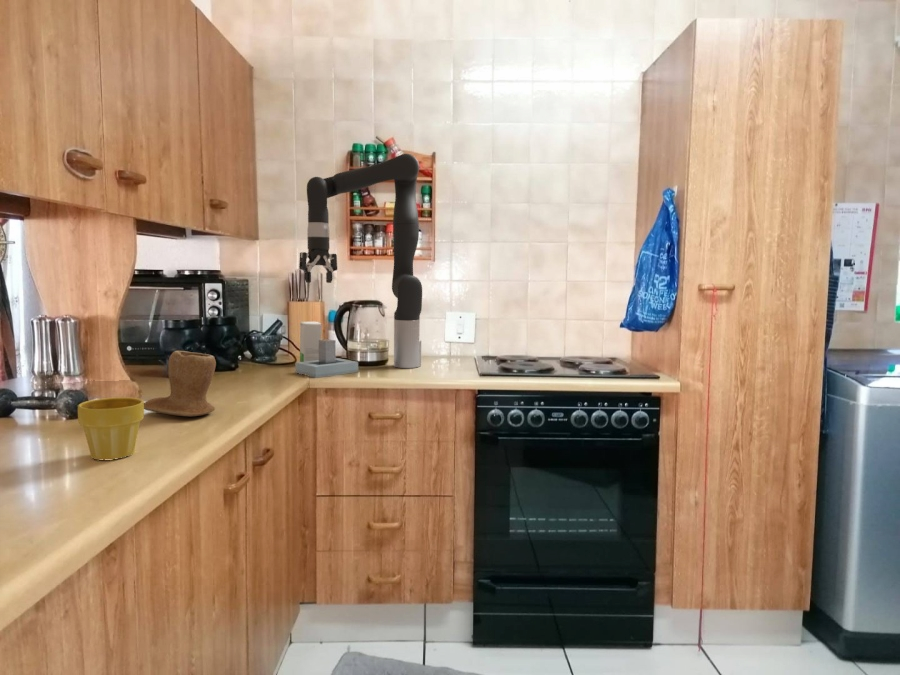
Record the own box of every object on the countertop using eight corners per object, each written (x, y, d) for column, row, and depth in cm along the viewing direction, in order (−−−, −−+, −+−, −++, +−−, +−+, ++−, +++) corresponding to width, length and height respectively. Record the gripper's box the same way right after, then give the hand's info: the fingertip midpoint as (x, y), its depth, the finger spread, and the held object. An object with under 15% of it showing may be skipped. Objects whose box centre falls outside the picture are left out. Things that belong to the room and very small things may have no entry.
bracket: (334, 367, 201) (334, 338, 200) (341, 368, 198) (341, 339, 197) (312, 370, 195) (312, 340, 193) (319, 371, 192) (319, 341, 191)
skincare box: (299, 363, 216) (299, 321, 215) (317, 362, 219) (317, 321, 217) (304, 366, 209) (303, 323, 207) (322, 365, 211) (322, 322, 210)
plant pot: (158, 448, 110) (156, 398, 108) (118, 466, 99) (116, 410, 98) (109, 445, 111) (107, 395, 110) (65, 462, 101) (62, 407, 100)
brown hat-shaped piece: (228, 412, 139) (226, 350, 138) (188, 423, 128) (186, 356, 127) (181, 405, 145) (179, 346, 144) (139, 415, 134) (137, 351, 133)
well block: (337, 367, 207) (337, 358, 206) (358, 371, 199) (358, 361, 198) (295, 373, 195) (295, 362, 194) (315, 377, 186) (315, 367, 186)
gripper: (306, 234, 196) (307, 282, 197) (341, 237, 206) (341, 283, 208) (294, 235, 201) (295, 282, 202) (329, 237, 211) (329, 282, 213)
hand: (318, 282), depth 205 cm, fingers open, 8 cm apart
